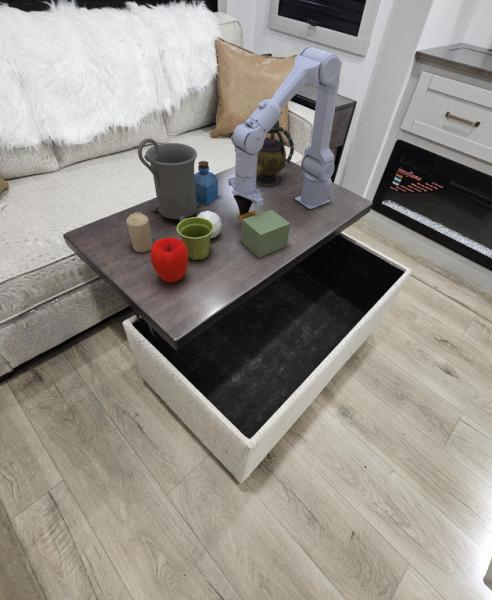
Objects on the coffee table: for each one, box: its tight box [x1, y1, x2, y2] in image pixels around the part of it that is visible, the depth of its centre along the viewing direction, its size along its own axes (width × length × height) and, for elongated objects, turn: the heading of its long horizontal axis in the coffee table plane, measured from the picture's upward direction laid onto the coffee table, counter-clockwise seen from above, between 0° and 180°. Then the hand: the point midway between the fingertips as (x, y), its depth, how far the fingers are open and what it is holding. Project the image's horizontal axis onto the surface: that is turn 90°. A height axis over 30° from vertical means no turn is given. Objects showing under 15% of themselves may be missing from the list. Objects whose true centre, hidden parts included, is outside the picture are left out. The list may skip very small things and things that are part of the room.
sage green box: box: [241, 209, 291, 259], centre depth 94 cm, size 8×10×8 cm
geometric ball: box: [196, 210, 223, 239], centre depth 96 cm, size 8×8×8 cm
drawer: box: [236, 210, 268, 239], centre depth 97 cm, size 12×9×6 cm
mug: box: [137, 137, 199, 223], centre depth 95 cm, size 19×15×25 cm
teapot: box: [256, 111, 295, 187], centre depth 114 cm, size 12×25×23 cm, turn 145°
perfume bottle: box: [194, 160, 219, 206], centre depth 109 cm, size 6×6×12 cm
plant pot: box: [176, 216, 214, 261], centre depth 89 cm, size 9×9×9 cm
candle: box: [125, 211, 154, 253], centre depth 89 cm, size 6×6×10 cm
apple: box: [149, 236, 189, 283], centre depth 81 cm, size 9×9×11 cm
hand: (244, 217), depth 100 cm, fingers closed
